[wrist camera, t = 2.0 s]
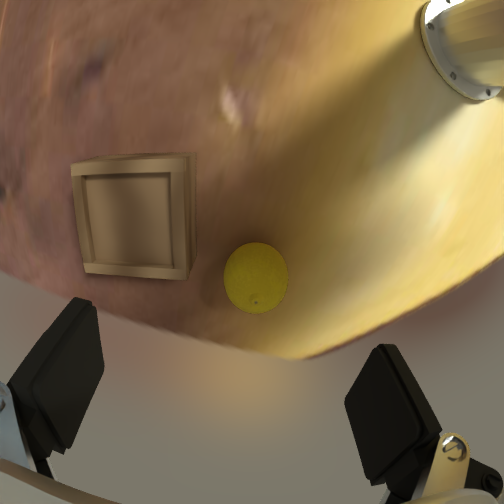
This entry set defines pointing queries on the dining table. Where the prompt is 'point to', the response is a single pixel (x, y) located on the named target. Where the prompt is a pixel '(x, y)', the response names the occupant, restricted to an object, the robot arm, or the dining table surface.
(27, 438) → the robot arm
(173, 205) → the brown wooden tray
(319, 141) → the dining table surface
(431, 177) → the dining table surface
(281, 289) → the lemon
